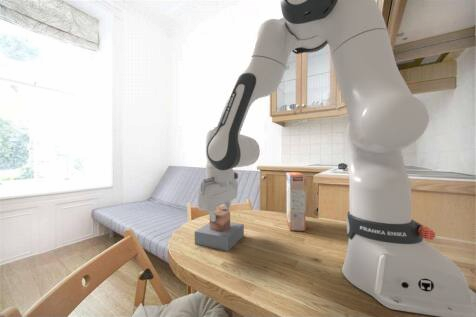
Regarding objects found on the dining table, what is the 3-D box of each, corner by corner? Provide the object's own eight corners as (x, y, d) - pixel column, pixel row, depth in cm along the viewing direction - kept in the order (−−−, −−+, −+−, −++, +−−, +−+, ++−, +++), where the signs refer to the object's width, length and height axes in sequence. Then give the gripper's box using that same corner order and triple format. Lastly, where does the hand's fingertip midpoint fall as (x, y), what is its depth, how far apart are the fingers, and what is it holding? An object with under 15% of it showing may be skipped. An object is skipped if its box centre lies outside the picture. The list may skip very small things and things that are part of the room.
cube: (230, 226, 66) (230, 211, 66) (223, 231, 61) (222, 215, 61) (217, 224, 68) (217, 210, 68) (209, 229, 63) (209, 214, 63)
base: (243, 235, 68) (243, 224, 68) (227, 251, 57) (227, 237, 57) (214, 230, 73) (214, 220, 73) (194, 243, 62) (194, 231, 62)
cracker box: (306, 232, 70) (306, 174, 70) (289, 231, 71) (289, 174, 71) (300, 219, 84) (299, 171, 84) (286, 219, 85) (285, 171, 85)
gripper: (210, 179, 54) (211, 229, 54) (240, 173, 72) (240, 210, 72) (192, 179, 56) (193, 226, 57) (225, 173, 75) (226, 208, 75)
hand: (220, 217), depth 65 cm, fingers open, 6 cm apart
